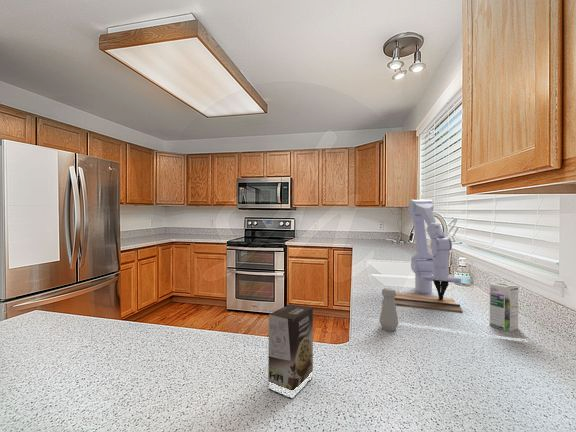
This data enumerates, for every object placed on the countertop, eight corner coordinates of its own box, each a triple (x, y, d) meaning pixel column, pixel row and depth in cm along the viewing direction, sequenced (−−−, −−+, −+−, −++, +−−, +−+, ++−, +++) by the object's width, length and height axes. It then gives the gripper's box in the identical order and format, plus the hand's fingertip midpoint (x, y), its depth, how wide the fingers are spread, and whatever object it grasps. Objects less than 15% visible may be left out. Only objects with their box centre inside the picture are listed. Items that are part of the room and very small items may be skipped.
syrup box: (488, 327, 94) (488, 283, 94) (499, 324, 97) (499, 281, 97) (508, 334, 89) (508, 287, 89) (519, 331, 92) (519, 285, 91)
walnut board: (383, 301, 123) (383, 296, 123) (459, 309, 112) (459, 304, 112) (382, 305, 117) (382, 300, 117) (462, 314, 106) (462, 309, 106)
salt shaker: (378, 330, 92) (378, 289, 92) (379, 324, 97) (380, 285, 97) (398, 333, 90) (398, 291, 90) (398, 326, 95) (398, 287, 95)
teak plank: (388, 295, 132) (388, 291, 132) (453, 301, 122) (453, 298, 122) (386, 301, 123) (386, 297, 123) (456, 308, 113) (456, 305, 113)
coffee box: (293, 400, 57) (293, 319, 57) (267, 390, 61) (267, 313, 61) (314, 378, 65) (314, 307, 65) (289, 370, 69) (289, 302, 69)
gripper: (421, 266, 119) (421, 299, 119) (462, 269, 114) (462, 303, 114) (421, 264, 126) (421, 295, 126) (459, 266, 120) (459, 298, 120)
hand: (440, 299), depth 120 cm, fingers closed
